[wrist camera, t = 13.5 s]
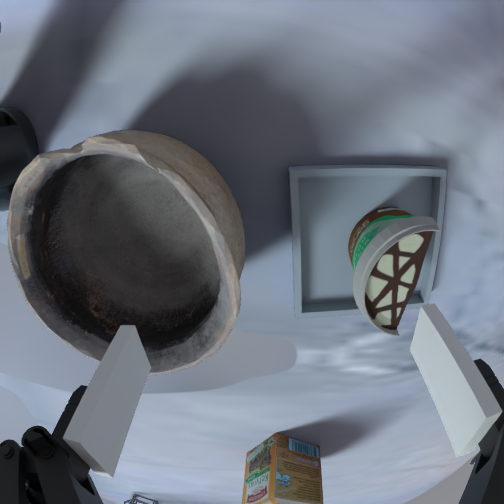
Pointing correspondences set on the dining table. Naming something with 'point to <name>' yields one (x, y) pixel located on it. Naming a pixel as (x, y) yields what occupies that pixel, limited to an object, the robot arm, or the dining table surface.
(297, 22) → the dining table surface
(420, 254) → the food container
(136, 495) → the geometric lantern
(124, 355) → the robot arm
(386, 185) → the tray
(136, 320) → the ceramic bowl
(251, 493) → the milk carton
